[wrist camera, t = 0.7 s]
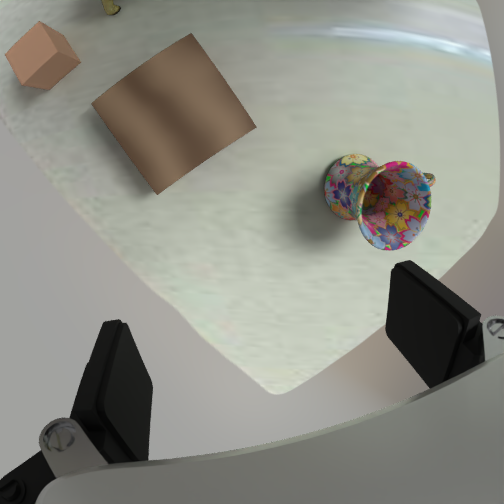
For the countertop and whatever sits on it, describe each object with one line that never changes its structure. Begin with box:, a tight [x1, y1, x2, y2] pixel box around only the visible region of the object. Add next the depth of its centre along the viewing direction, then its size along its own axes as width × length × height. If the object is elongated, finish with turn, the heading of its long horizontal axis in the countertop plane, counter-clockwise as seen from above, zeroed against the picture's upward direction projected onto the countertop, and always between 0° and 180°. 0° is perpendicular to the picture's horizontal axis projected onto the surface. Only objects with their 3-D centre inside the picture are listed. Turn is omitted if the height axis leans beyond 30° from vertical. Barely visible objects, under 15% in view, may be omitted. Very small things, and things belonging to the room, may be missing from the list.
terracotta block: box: [5, 21, 81, 90], centre depth 24 cm, size 5×5×7 cm
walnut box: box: [91, 33, 256, 195], centre depth 30 cm, size 12×12×5 cm
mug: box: [324, 154, 435, 250], centre depth 34 cm, size 12×9×11 cm
